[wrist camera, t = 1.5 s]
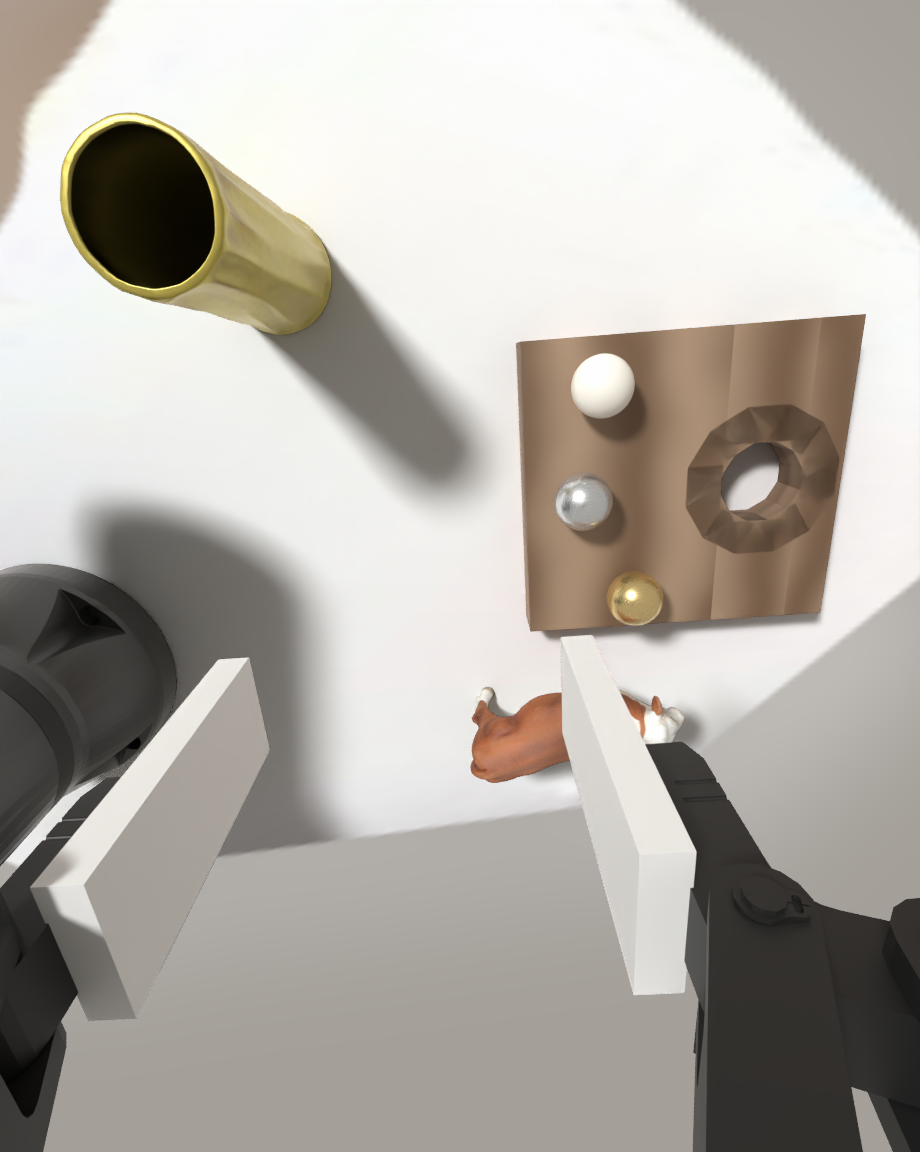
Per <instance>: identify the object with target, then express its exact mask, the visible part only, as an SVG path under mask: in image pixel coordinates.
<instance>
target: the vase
mask: <svg viewBox="0 0 920 1152" xmlns="http://www.w3.org/2000/svg"><path fill="white" fill-rule="evenodd" d="M60 201H61V211H62V215H63V218H64V222H65V225H66V227H67V230H68V233H69V235H70V237H71V239H72V241H73V243H74V245H75V246H76V248H77V249H78V251H79V253H80V254H81V255H82V257H83V258H84V259H85V260H86V262H87V263H88V264H89V265H90V266H91V267H92V268H93V269H94V270H95V271H96V272H97V273H99V274H100V275H101V276H102V277H103V278H104V279H105V280H107V281H108V282H109V283H110V284H112V285H113V286H114V287H116V288H118V289H119V290H121V291H123V292H127V293H130V294H133V295H136V296H139V297H142V298H145V299H147V300H150V301H153V302H159V303H163V304H170V305H175V306H179V307H184V308H188V309H192V310H198V311H204V312H208V313H211V314H214V315H217V316H219V317H222V318H225V319H228V320H231V321H235V322H238V323H242V324H247V325H251V326H252V327H254V328H257V329H259V330H261V331H264V332H267V333H270V334H275V335H285V334H291V333H295V332H297V331H300V330H302V329H304V328H306V327H308V326H310V325H311V324H312V323H313V322H314V321H315V320H316V319H317V318H318V317H319V315H320V314H321V313H322V311H323V310H324V308H325V306H326V304H327V302H328V299H329V295H330V290H331V267H330V262H329V258H328V255H327V253H326V250H325V248H324V246H323V244H322V242H321V241H320V239H319V238H318V236H317V235H316V233H315V232H314V231H313V230H312V229H311V228H310V227H309V226H308V225H307V224H306V223H304V222H303V221H301V220H300V219H299V218H297V217H295V216H293V215H291V214H289V213H287V212H284V211H283V210H282V209H281V208H280V207H279V206H277V205H276V204H275V203H274V202H272V201H271V200H270V199H268V198H267V197H265V196H264V195H262V194H261V193H260V192H258V191H257V190H256V189H255V188H253V187H252V186H250V185H249V184H247V183H246V182H245V181H243V180H242V179H241V178H239V177H238V176H236V175H235V174H234V173H232V172H231V171H230V170H228V169H227V168H226V167H224V166H223V165H222V164H221V163H220V162H218V161H217V160H216V159H215V158H213V157H212V156H211V155H210V154H209V153H207V152H206V151H205V150H204V149H203V148H201V147H200V146H199V145H198V144H197V143H196V142H194V141H193V140H192V139H191V138H189V137H188V136H186V135H185V134H183V133H182V132H180V131H179V130H177V129H176V128H174V127H172V126H170V125H168V124H166V123H164V122H162V121H160V120H158V119H155V118H153V117H150V116H147V115H143V114H139V113H119V114H114V115H110V116H107V117H105V118H104V119H102V120H100V121H98V122H96V123H95V124H93V125H91V126H90V127H88V128H87V129H85V130H84V131H83V132H82V133H81V134H80V135H79V136H78V137H77V138H76V140H75V141H74V143H73V144H72V146H71V147H70V149H69V151H68V152H67V155H66V157H65V159H64V162H63V165H62V171H61V187H60Z"/></svg>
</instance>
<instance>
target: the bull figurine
mask: <svg viewBox="0 0 920 1152" xmlns="http://www.w3.org/2000/svg"><path fill="white" fill-rule="evenodd" d="M619 691H620V693H621V695H622V698H623V700H624V702H625V704H626V706H627V708H628V710H629V712H630V714H631V716H632V718H633V720H634V722H635V725H636V727H637V729H638V731H639V733H640V735H641V737H642V739H643V741H644V743H645V744H655V743H671V742H672V741H673V739H674V737H675V734H676V732H677V731H678V730H679V729H680V728H681V726H682V724H683V722H684V719H685V717H684V715H682V713H681V711H680V710H679V709H677V708H674V707H670V708H668V709H664V708H662V705H661V702H660V700H659V698H658V697H657V696H654V697H653V699H652V706H649V705H646V704H644V703H642V702H640V701H638V700H636V699H634V698H633V697H631V696H630V695H629V694H627V693H625V692H623V691H621V690H619ZM493 696H494V691H493V690H492V688H490V687H486V688H484V689H482V691H481V693H480V696H479V697H477V698H476V702H477V707H476V711H475V714H474V715H473V717H472V720H473V722H474V723H476V724H477V725H478V727H479V729H478V731H477V733H476V735H475V737H474V740H473V744H472V755H473V759H474V760H473V761H472V763H471V772H472V774H473V775H475V776H476V777H478V778H480V779H485V780H487V781H488V782H491V783H499V782H503V781H508V780H511V779H514V778H517V777H520V776H524V775H530V774H533V773H536V772H538V771H540V770H542V769H544V768H546V767H549V766H552V765H555V764H558V763H561V762H565V761H569V760H570V759H569V755H568V752H567V748H566V744H565V741H564V737H563V733H562V693H551V694H545V695H542V696H538V697H536V698H534V699H532V700H530V701H529V702H528V703H526V704H525V705H524V706H523V707H522V708H521V709H520V710H519V711H518V712H517V713H516V714H513V715H512V716H509V717H499V716H496V715H495V714H494V713H492V712H491V711H490V710H489V708H488V703H489V701H490V700H491V699H492V697H493Z"/></svg>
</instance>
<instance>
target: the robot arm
mask: <svg viewBox="0 0 920 1152" xmlns="http://www.w3.org/2000/svg"><path fill="white" fill-rule="evenodd" d="M561 681H562V733H563V737H564V741H565V744H566V748H567V752H568V755H569V759H570V763H571V766H572V770H573V774H574V777H575V781H576V785H577V789H578V792H579V796H580V800H581V803H582V807H583V811H584V814H585V818H586V821H587V825H588V829H589V833H590V836H591V840H592V844H593V847H594V851H595V855H596V858H597V862H598V866H599V870H600V873H601V877H602V881H603V884H604V888H605V892H606V895H607V899H608V903H609V906H610V910H611V914H612V917H613V921H614V924H615V929H616V932H617V936H618V940H619V943H620V947H621V951H622V954H623V958H624V961H625V965H626V969H627V972H628V977H629V980H630V984H631V988H632V990H633V995H646V994H666V993H667V994H668V993H684V992H685V981H686V969H688V972H689V975H690V977H691V980H692V983H693V986H694V988H695V991H696V994H697V996H698V999H699V1002H698V1012H697V1022H696V1032H695V1043H694V1053H695V1054H696V1063H695V1064H696V1065H695V1098H694V1129H693V1152H863V1150H862V1145H861V1139H860V1133H859V1128H858V1122H857V1117H856V1111H855V1106H854V1100H853V1095H852V1089H851V1087H854V1088H857V1089H860V1090H863V1091H866V1092H868V1094H869V1097H870V1099H871V1101H872V1103H873V1106H874V1108H875V1110H876V1113H877V1115H878V1118H879V1120H880V1122H881V1125H882V1127H883V1129H884V1132H885V1134H886V1136H887V1139H888V1141H889V1144H890V1146H891V1148H892V1151H893V1152H920V898H916V899H906V900H904V901H903V902H901V903H900V904H899V905H897V906H895V907H894V908H893V912H892V916H891V920H890V921H886V920H881V919H877V918H872V917H868V916H863V915H859V914H854V913H849V912H845V911H840V910H837V909H834V908H830V907H827V906H823V905H821V904H818V903H817V902H814V901H813V899H812V898H811V897H810V896H809V895H808V893H807V892H806V891H805V890H804V889H803V888H802V887H801V886H800V885H799V884H798V883H797V882H795V881H793V880H792V879H791V878H789V877H788V876H786V875H785V874H783V873H782V872H780V871H777V870H774V869H772V868H771V867H770V866H769V864H768V863H767V861H766V859H765V858H764V856H763V855H762V853H761V851H760V850H759V848H758V846H757V845H756V843H755V842H754V840H753V838H752V837H751V835H750V834H749V832H748V830H747V828H746V827H745V825H744V824H743V822H742V820H741V819H740V817H739V815H738V814H737V812H736V810H735V809H734V807H733V806H732V804H731V802H730V801H729V800H727V798H726V794H725V792H724V791H723V789H722V788H721V786H720V784H719V783H717V782H716V778H715V776H714V775H713V773H712V771H711V770H710V768H709V766H708V765H707V763H706V762H705V760H704V758H702V757H701V756H700V755H699V754H697V753H696V752H695V751H693V750H692V749H691V748H690V747H688V746H687V745H686V744H684V743H683V742H672V743H655V744H645V743H644V741H643V739H642V737H641V735H640V733H639V731H638V729H637V727H636V725H635V722H634V720H633V718H632V716H631V714H630V712H629V710H628V708H627V706H626V704H625V702H624V700H623V698H622V695H621V693H620V691H619V689H618V687H617V685H616V683H615V681H614V679H613V677H612V675H611V673H610V670H609V668H608V666H607V664H606V662H605V660H604V658H603V656H602V654H601V652H600V650H599V648H598V645H597V643H596V641H595V639H594V637H593V635H583V636H568V637H561ZM175 694H176V671H175V666H174V661H173V658H172V655H171V652H170V649H169V647H168V644H167V642H166V640H165V638H164V637H163V635H162V633H161V631H160V630H159V628H158V627H157V625H156V624H155V623H154V621H153V620H152V619H151V617H150V616H149V615H148V614H147V613H146V612H145V611H144V610H143V609H142V608H141V607H140V606H139V605H138V604H137V603H136V602H135V601H134V600H133V599H132V598H130V597H129V596H128V595H126V594H125V593H124V592H122V591H121V590H119V589H118V588H116V587H115V586H113V585H111V584H110V583H108V582H106V581H104V580H102V579H100V578H98V577H96V576H94V575H91V574H89V573H86V572H83V571H80V570H77V569H74V568H69V567H65V566H59V565H52V564H26V565H19V566H14V567H10V568H6V569H4V570H1V571H0V866H1V865H2V864H3V863H4V862H5V860H6V859H7V858H8V857H9V856H10V855H11V854H12V853H13V852H14V850H15V849H16V848H17V847H18V846H19V845H20V844H21V843H22V841H23V840H24V839H25V838H26V837H27V836H28V835H29V834H30V833H31V831H32V830H33V829H34V828H35V827H36V826H37V825H38V824H39V823H40V821H41V820H42V819H43V818H44V817H45V816H46V814H47V813H48V812H49V811H50V810H51V809H52V808H53V807H54V806H55V805H56V804H57V803H58V802H59V800H60V799H61V798H62V797H63V796H65V795H67V794H69V793H71V792H72V791H74V790H76V789H78V788H80V787H82V786H83V785H85V784H87V783H89V782H91V781H92V780H94V779H96V778H98V777H100V776H102V775H103V774H105V773H107V772H109V771H111V770H112V769H114V768H116V767H118V766H120V765H121V764H123V763H125V762H126V761H128V760H129V759H131V758H132V757H134V756H135V755H136V754H137V753H138V752H139V751H141V750H142V749H143V748H144V747H145V746H146V745H147V743H148V742H149V741H150V740H151V739H152V737H153V736H154V735H155V734H156V733H157V731H158V730H159V729H160V728H161V727H162V725H163V724H164V722H165V721H166V719H167V718H168V716H169V714H170V712H171V709H172V706H173V703H174V699H175ZM269 751H270V748H269V743H268V739H267V734H266V730H265V726H264V721H263V717H262V712H261V708H260V703H259V699H258V694H257V690H256V686H255V681H254V677H253V672H252V668H251V663H250V659H249V657H247V658H231V659H218V661H217V662H216V663H215V664H214V666H213V667H212V668H211V669H210V670H209V672H208V673H207V674H206V675H205V676H204V678H203V679H202V680H201V681H200V682H199V684H198V685H197V686H196V687H195V689H194V690H193V691H192V692H191V693H190V695H189V696H188V697H187V698H186V699H185V701H184V702H183V703H182V704H181V705H180V707H179V708H178V709H177V710H176V711H175V713H174V714H173V715H172V716H171V718H170V719H169V720H168V721H167V722H166V724H165V725H164V726H163V727H162V728H161V730H160V731H159V732H158V733H157V734H156V736H155V737H154V738H153V739H152V741H151V742H150V743H149V744H148V745H147V747H146V748H145V749H144V750H143V751H142V753H141V754H140V755H139V756H138V757H137V759H136V760H135V761H134V762H133V764H132V765H131V766H130V767H129V768H128V770H127V771H126V772H125V773H124V774H123V776H122V777H114V778H107V779H105V780H104V781H102V782H101V783H100V784H98V785H97V786H95V787H94V788H93V789H91V790H90V791H88V792H87V793H86V794H84V795H83V796H81V797H80V799H79V800H78V801H77V802H76V803H75V804H74V805H73V806H72V808H71V809H70V810H69V811H68V812H67V813H66V814H65V816H64V817H63V818H62V822H58V823H57V825H56V826H55V827H54V828H53V829H52V830H51V831H50V833H49V834H48V835H47V836H46V837H47V838H46V840H45V841H42V842H41V843H40V844H39V845H38V846H37V847H36V848H35V850H34V851H33V852H32V853H31V854H30V855H29V856H28V857H27V859H26V860H25V861H24V862H23V863H22V864H21V865H20V867H19V868H18V869H17V870H16V871H15V872H14V873H13V874H12V876H11V877H10V878H9V879H8V880H7V881H6V882H5V884H4V885H3V886H2V887H1V888H0V1152H43V1149H44V1145H45V1140H46V1136H47V1131H48V1126H49V1122H50V1117H51V1113H52V1109H53V1104H54V1099H55V1095H56V1091H57V1086H58V1081H59V1077H60V1073H61V1068H62V1064H63V1059H64V1055H65V1050H66V1031H65V1029H64V1027H63V1025H62V1023H61V1020H62V1018H63V1017H64V1015H65V1013H66V1012H67V1010H68V1009H69V1007H70V1005H71V1004H72V1002H73V1000H74V999H75V997H76V995H77V996H78V999H79V1001H80V1003H81V1006H82V1008H83V1010H84V1012H85V1014H86V1017H87V1019H88V1021H94V1020H114V1019H136V1018H137V1016H138V1014H139V1012H140V1010H141V1008H142V1006H143V1004H144V1002H145V1000H146V998H147V996H148V994H149V992H150V990H151V988H152V986H153V984H154V982H155V980H156V978H157V976H158V974H159V972H160V970H161V968H162V966H163V964H164V962H165V960H166V958H167V956H168V954H169V952H170V950H171V948H172V946H173V944H174V942H175V940H176V938H177V936H178V934H179V932H180V930H181V928H182V926H183V924H184V922H185V920H186V918H187V916H188V914H189V912H190V910H191V908H192V906H193V904H194V902H195V900H196V898H197V896H198V894H199V892H200V890H201V888H202V886H203V884H204V882H205V880H206V878H207V876H208V874H209V872H210V870H211V868H212V866H213V864H214V862H215V860H216V858H217V856H218V854H219V852H220V850H221V848H222V846H223V844H224V842H225V840H226V838H227V836H228V834H229V832H230V830H231V828H232V826H233V824H234V822H235V820H236V818H237V816H238V814H239V812H240V810H241V808H242V806H243V804H244V802H245V800H246V798H247V796H248V794H249V792H250V790H251V788H252V786H253V784H254V782H255V780H256V778H257V776H258V774H259V772H260V770H261V768H262V766H263V764H264V762H265V759H266V757H267V755H268V753H269Z"/></svg>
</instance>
